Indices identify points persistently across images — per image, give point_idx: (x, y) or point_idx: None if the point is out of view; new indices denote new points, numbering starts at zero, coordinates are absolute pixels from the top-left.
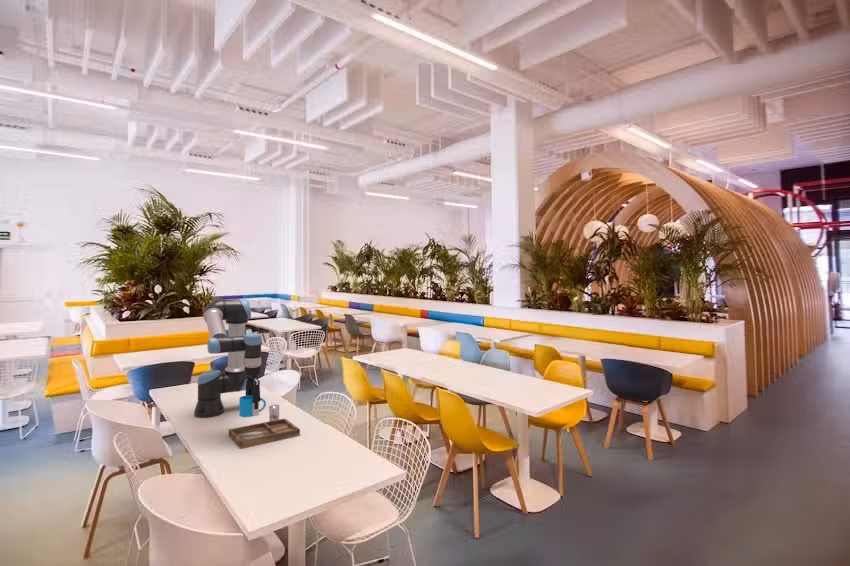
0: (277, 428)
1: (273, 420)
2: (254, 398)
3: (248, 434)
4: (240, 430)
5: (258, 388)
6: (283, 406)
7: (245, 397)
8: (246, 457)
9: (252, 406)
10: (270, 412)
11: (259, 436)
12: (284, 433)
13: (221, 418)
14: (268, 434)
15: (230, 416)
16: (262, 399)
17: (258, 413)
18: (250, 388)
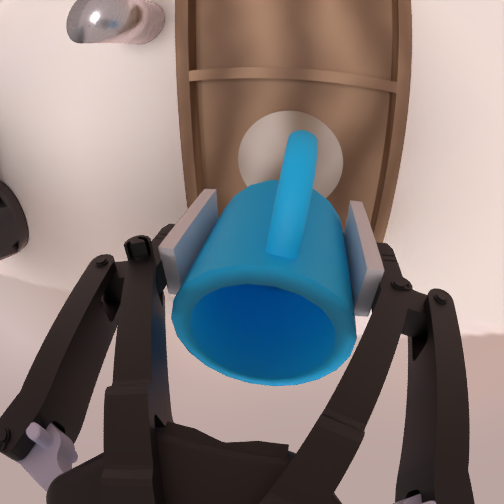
0: (259, 28)
1: (151, 26)
2: (414, 356)
3: (264, 173)
4: (201, 190)
5: (458, 435)
6: (11, 3)
7: (198, 327)
8: (453, 253)
9: (351, 286)
10: (116, 37)
11: (326, 143)
12: (409, 54)
13: (36, 198)
14: (322, 95)
15: (27, 171)
16: (311, 194)
17: (364, 210)
18: (163, 374)
